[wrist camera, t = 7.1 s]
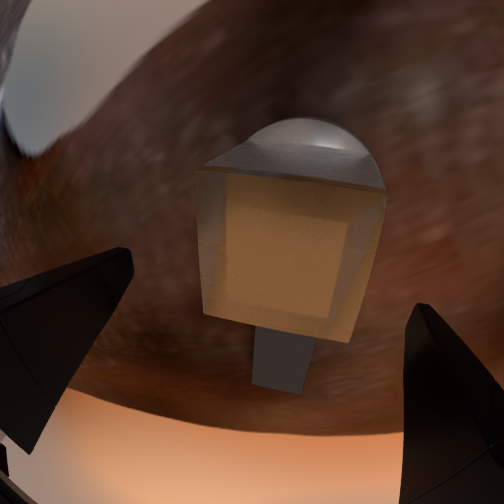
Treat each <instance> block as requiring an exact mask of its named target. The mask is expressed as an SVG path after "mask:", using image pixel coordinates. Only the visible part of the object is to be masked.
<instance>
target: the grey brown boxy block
mask: <svg viewBox="0 0 504 504" xmlns="http://www.w3.org/2000/svg"><path fill="white" fill-rule="evenodd" d="M195 190H196V213H197V232H198V249H199V264H200V278H201V291H202V303H203V314H207V315H211V316H215V317H220V318H224V319H228V320H233V321H237V322H241V323H246V324H251V325H255V326H260V327H265V328H269V329H274V330H279V331H284V332H289V333H295V334H300V335H305V336H311V337H316V338H322V339H328V340H333V341H339V342H346V343H349V340H350V337H351V334H352V331H353V328H354V325H355V322H356V319H357V316H358V313H359V310H360V307H361V303H362V300H363V297H364V294H365V290H366V287H367V283H368V280H369V276H370V273H371V269H372V265H373V261H374V258H375V254H376V250H377V246H378V242H379V238H380V233H381V229H382V225H383V220H384V216H385V211H386V206H387V202H388V197H389V196H388V193H387V191H386V188H385V186H384V184H383V181H382V179H381V177H380V174H379V172H378V170H377V167H376V165H375V163H374V161H373V159H372V156H371V154H368V153H362V152H357V151H351V150H344V149H338V148H331V147H324V146H317V145H309V144H301V143H292V142H283V141H273V140H261V139H249V140H247V141H245V142H243V143H242V144H240V145H238V146H236V147H234V148H232V149H231V150H229V151H227V152H225V153H223V154H222V155H220V156H218V157H216V158H215V159H213V160H211V161H209V162H208V163H206V164H204V165H203V166H201V167H199V168H198V169H196V170H195Z"/></svg>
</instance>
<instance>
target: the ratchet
mask: <svg viewBox="0 0 504 504" xmlns="http://www.w3.org/2000/svg"><path fill="white" fill-rule="evenodd" d="M249 139H261V140H273V141H283V142H292V143H301V144H309V145H317V146H324V147H331V148H338V149H344V150H351V151H357V152H362V153H368V154H371V152H370V151H369V149H368V148H367V146H366V145H365V144H364V142H363V141H362V140H361V139H360V138H359V137H358V136H357V135H356V134H355V133H354V132H353V131H351V130H350V129H348V128H347V127H345V126H344V125H342V124H340V123H338V122H336V121H333V120H330V119H327V118H324V117H319V116H308V115H304V116H294V117H290V118H286V119H283V120H280V121H278V122H275V123H273V124H271V125H269V126H267V127H265V128H263V129H261V130H259V131H258V132H256V133H255V134H254V135H252V136H251V137H250V138H249ZM249 139H248V140H249ZM371 156H372V154H371ZM372 159H373V161H374V163H375V165H376V162H375V160H374V158H373V156H372ZM376 167H377V165H376ZM377 170H378V172H379V174H380V171H379V169H378V167H377ZM380 177H381V174H380ZM381 179H382V177H381ZM315 341H316V337H311V336H305V335H300V334H295V333H289V332H284V331H279V330H274V329H269V328H265V327H260V326H255V340H254V356H253V371H252V384H254V385H258V386H262V387H267V388H271V389H276V390H280V391H285V392H290V393H295V394H300V395H301V392H302V388H303V385H304V381H305V378H306V374H307V371H308V367H309V364H310V360H311V356H312V352H313V349H314V345H315Z"/></svg>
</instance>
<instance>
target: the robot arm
mask: <svg viewBox="0 0 504 504" xmlns="http://www.w3.org/2000/svg"><path fill="white" fill-rule="evenodd" d="M133 276H134V266H133V260H132V255H131V251H130V250H129V249H127V248H123V247H117V248H113V249H110V250H107V251H104V252H101V253H98V254H95V255H92V256H89V257H86V258H83V259H80V260H77V261H74V262H71V263H68V264H66V265H63V266H60V267H57V268H54V269H51V270H48V271H46V272H43V273H40V274H37V275H34V276H32V277H30V278H26V279H23V280H21V281H18V282H15V283H12V284H9V285H6V286H3V287H0V504H37V503H36V502H35V501H34V500H32V499H31V498H30V497H29V496H28V495H27V494H25V493H24V492H23V491H22V490H21V489H20V488H19V487H18V486H17V485H15V484H14V483H13V482H12V481H11V480H10V479H9V478H8V477H9V471H8V464H7V454H6V447H5V446H4V445H3V444H2V443H1V442H2V440H3V439H4V437H5V436H6V435H7V436H8V437H9V438H10V439H11V440H13V441H14V442H15V443H16V444H17V445H18V446H19V447H20V448H22V449H23V450H24V451H25V452H26V453H27V454H28V455H30V454H31V453H32V451H33V449H34V447H35V445H36V443H37V441H38V439H39V437H40V435H41V433H42V431H43V429H44V427H45V426H46V424H47V422H48V420H49V418H50V416H51V415H52V413H53V411H54V409H55V406H56V405H57V403H58V402H59V400H60V398H61V396H62V395H63V393H64V391H65V389H66V388H67V386H68V384H69V383H70V381H71V379H72V377H73V376H74V374H75V372H76V371H77V369H78V367H79V366H80V364H81V363H82V361H83V359H84V358H85V356H86V354H87V353H88V351H89V350H90V348H91V346H92V345H93V343H94V342H95V340H96V339H97V337H98V335H99V334H100V332H101V331H102V329H103V328H104V326H105V325H106V323H107V322H108V320H109V319H110V317H111V316H112V314H113V312H114V311H115V309H116V307H117V305H118V304H119V302H120V300H121V298H122V296H123V294H124V292H125V291H126V289H127V287H128V285H129V283H130V282H131V280H132V278H133ZM403 388H404V441H403V462H402V477H401V487H400V497H399V504H504V390H503V389H502V388H501V386H500V385H499V384H498V382H497V381H495V379H494V377H493V376H492V375H491V374H490V373H489V371H488V370H487V369H486V368H485V366H484V365H483V364H482V363H481V362H480V360H479V359H478V358H477V357H476V356H475V354H474V353H473V352H472V351H471V350H470V349H469V348H468V346H467V345H466V344H465V343H464V342H463V341H462V339H461V338H460V337H459V336H458V335H457V334H456V333H455V332H454V331H453V329H452V328H451V327H450V326H449V325H448V324H447V323H446V322H445V321H444V320H443V318H442V317H441V316H440V315H439V314H438V313H437V312H436V311H435V310H434V309H433V308H432V307H431V306H430V305H429V304H423V303H417V304H416V305H415V307H414V309H413V311H412V313H411V316H410V318H409V320H408V322H407V325H406V329H405V352H404V370H403Z"/></svg>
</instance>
